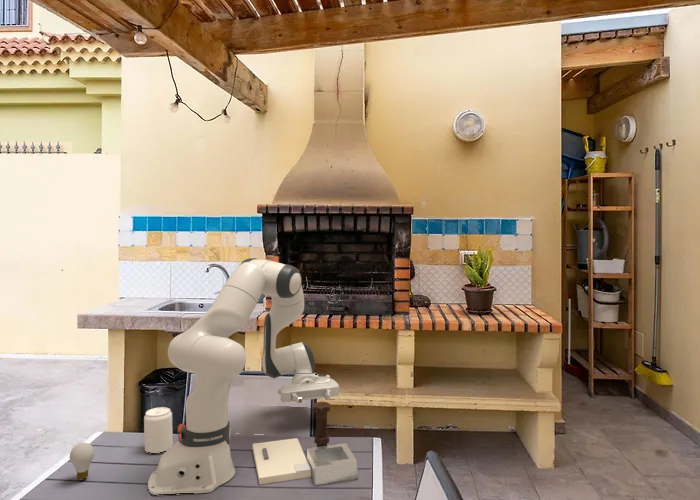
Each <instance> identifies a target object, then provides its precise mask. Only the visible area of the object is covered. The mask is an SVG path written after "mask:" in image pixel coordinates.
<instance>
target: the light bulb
mask: <svg viewBox="0 0 700 500" xmlns="http://www.w3.org/2000/svg"><path fill="white" fill-rule="evenodd" d="M94 456H95V448H94V446H93V445H92V444H90V443H89V442H80V443H78V444H76V445H74V447H72V449H71V450H70V452H69V461H70V462H71V464H72V465H73V466H74V469H75V472H76V478H77V479H78V480H79V479H84V478H86V479H87V478H89V469H90V465H91V462H92V461H93V459H94Z"/></svg>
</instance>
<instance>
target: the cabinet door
mask: <svg viewBox="0 0 700 500" xmlns="http://www.w3.org/2000/svg"><path fill="white" fill-rule="evenodd" d="M252 452H253V453H252V454H253V460H254V465H255V469H256V475H257V479H258V484H259V486H260V485H267V484H273V483H274V484H275V483H280V482H286V481H292V480H299V479H307V478H312V476H311V468H310V466H309V463H308V462H307V457H306V456H305V453H304V450H303V448H302V445H301V443H300V442H299V438H297V437H296V438H288V439H287V438H286V439H279V440H271V441H266V442H265V441H264V442H258V443H257V442H255V443H252Z"/></svg>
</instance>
